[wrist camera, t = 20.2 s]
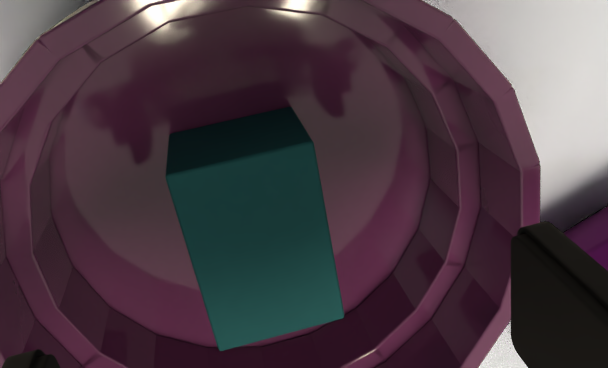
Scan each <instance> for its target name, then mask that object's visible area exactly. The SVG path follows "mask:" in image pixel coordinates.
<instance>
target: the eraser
mask: <svg viewBox="0 0 608 368" xmlns="http://www.w3.org/2000/svg"><path fill="white" fill-rule="evenodd" d="M165 178H166V182H167V185H168V188H169V191H170V195H171V198H172V201H173V204H174V208H175V211H176V214H177V217H178V221H179V224H180V227H181V230H182V233H183V237H184V240H185V243H186V246H187V250H188V253H189V256H190V259H191V263H192V266H193V269H194V272H195V276H196V279H197V282H198V285H199V289H200V292H201V295H202V298H203V302H204V305H205V308H206V311H207V314H208V318H209V321H210V324H211V327H212V331H213V334H214V337H215V340H216V344H217V347H218V349H219V350H220V351H224V350H228V349H231V348H235V347H239V346H242V345H246V344H250V343H254V342H257V341H261V340H265V339H269V338H272V337H276V336H280V335H283V334H287V333H291V332H295V331H298V330H302V329H306V328H310V327H313V326H317V325H321V324H325V323H328V322H332V321H336V320H339V319H343V318H344V309H343V303H342V298H341V292H340V287H339V281H338V275H337V270H336V264H335V259H334V253H333V247H332V242H331V236H330V231H329V225H328V220H327V214H326V208H325V203H324V197H323V192H322V186H321V180H320V175H319V169H318V164H317V158H316V152H315V147H314V143H313V141H312V139H311V138H310V136H309V134H308V133H307V131H306V129H305V128H304V126H303V125H302V123H301V121H300V120H299V118H298V116H297V115H296V113H295V112H294V110H293V108H292V107H285V108H281V109H277V110H272V111H268V112H264V113H259V114H255V115H250V116H246V117H242V118H237V119H233V120H228V121H224V122H220V123H215V124H211V125H206V126H202V127H198V128H193V129H189V130H184V131H180V132H176V133H171V134H170V135H169V140H168V152H167V164H166V176H165Z"/></svg>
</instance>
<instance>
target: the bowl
mask: <svg viewBox="0 0 608 368" xmlns="http://www.w3.org/2000/svg"><path fill="white" fill-rule="evenodd" d="M285 107H292V108H293V110H294V112H295V113H296V115H297V116H298V118H299V120H300V121H301V123H302V125H303V126H304V128H305V129H306V131H307V133H308V134H309V136H310V138H311V139H312V141H313V143H314V147H315V152H316V158H317V164H318V169H319V175H320V180H321V186H322V192H323V197H324V203H325V208H326V214H327V220H328V225H329V231H330V236H331V242H332V247H333V253H334V259H335V264H336V270H337V275H338V281H339V287H340V292H341V298H342V303H343V309H344V318H343V319H339V320H336V321H332V322H328V323H325V324H321V325H317V326H313V327H310V328H306V329H302V330H298V331H295V332H291V333H287V334H283V335H280V336H276V337H272V338H269V339H265V340H261V341H257V342H254V343H250V344H246V345H242V346H239V347H235V348H231V349H228V350H224V351H220V350H219V349H218V347H217V344H216V340H215V337H214V334H213V331H212V327H211V324H210V321H209V318H208V314H207V311H206V308H205V305H204V302H203V298H202V295H201V292H200V289H199V285H198V282H197V279H196V276H195V272H194V269H193V266H192V263H191V259H190V256H189V253H188V250H187V246H186V243H185V240H184V237H183V233H182V230H181V227H180V224H179V221H178V217H177V214H176V211H175V208H174V204H173V201H172V198H171V195H170V191H169V188H168V185H167V182H166V178H165V176H166V164H167V152H168V140H169V135H170V134H171V133H176V132H180V131H184V130H189V129H193V128H198V127H202V126H206V125H211V124H215V123H220V122H224V121H228V120H233V119H237V118H242V117H246V116H250V115H255V114H259V113H264V112H268V111H272V110H277V109H281V108H285ZM539 163H540V161H539V158H538V156H537V153H536V150H535V147H534V144H533V142H532V139H531V136H530V133H529V130H528V127H527V125H526V122H525V119H524V116H523V113H522V111H521V108H520V105H519V102H518V99H517V97H516V94H515V91H514V88H513V87H512V85H511V83H510V82H509V81H508V80H507V79H506V77H505V76H504V75H503V74H502V73H501V72H500V70H499V69H498V68H497V67H496V66H495V65H494V63H493V62H492V61H491V60H490V59H489V58H488V57H487V55H486V54H485V53H484V52H483V51H482V50H481V48H480V47H479V46H478V45H477V44H476V43H475V41H474V40H473V39H472V38H471V37H470V36H469V34H468V33H467V32H466V31H465V30H464V29H463V27H462V26H461V25H460V24H459V23H458V22H457V20H455V19H453V18H452V16H450V15H448V14H446V13H445V12H443V11H441V10H439V9H437V8H435V7H433V6H432V5H430V4H428V3H426V2H424V1H422V0H92V1H90V2H89V3H87V4H85V5H84V6H82V7H80V8H79V9H77V10H76V11H74V12H73V13H72V14H70V15H69V16H67V17H66V18H64V19H63V20H62V21H60V22H59V23H57V24H56V25H54V26H53V27H51V28H50V29H49V30H47V31H46V32H44V33H43V34H41V35H40V36H39V37H38V38H37V39H36V40H34V42H33V43H32V44H31V46H30V47H29V48H28V49H27V51H26V52H25V53H24V54H23V56H22V57H21V58H20V59H19V61H18V62H17V63H16V64H15V66H14V67H13V68H12V69H11V71H10V72H9V73H8V74H7V76H6V77H5V78H4V79H3V81H2V82H1V83H0V368H2V366H3V364H4V362H5V360H6V358H8V357H9V356H13V355H17V354H21V353H25V352H29V351H33V350H37V349H39V350H42V351H43V352H44V353H45V355H48V354H53V355H54V356H55V358H56V359H57V361H58V364H59V366H60V368H478V367H479V366H480V364H481V363H482V361H483V360H484V359H485V357H486V356H487V354H488V353H489V351H490V350H491V348H492V347H493V345H494V344H495V342H496V341H497V339H498V338H499V336H500V335H501V333H502V332H503V330H504V329H505V328H506V326H507V325H508V323H509V322H510V320H511V239H512V237H514V236H517V232H518V230H519V228H521V227H525V226H529V225H533V224H536V223H540V164H539Z"/></svg>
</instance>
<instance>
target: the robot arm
mask: <svg viewBox="0 0 608 368" xmlns="http://www.w3.org/2000/svg"><path fill="white" fill-rule="evenodd" d="M511 338H512V342H513V345H514V348H515V350H516V352H517V353H518V355H519V356H520V357H521V359H522V360H523V361H524V363H525V364H526V365H527V367H528V368H608V271H607V270H606V269H605V268H604V267H603V266H601V265H600V264H599V263H598V262H597V261H595V260H594V259H593V258H592V257H591V256H590V255H588V254H587V253H586V252H585V251H584V250H582V249H581V248H580V247H579V246H578V245H577V244H575V243H574V242H573V241H572V240H571V239H569V238H568V237H567V236H566V235H565V234H564V233H562V232H561V231H560V230H559V229H558V228H556V227H555V226H554V225H553V224H552V223H550V222H547V221H544V222H540V223H536V224H533V225H529V226H525V227H521V228H519V230H518V232H517V236H514V237H512V239H511ZM2 368H60V366H59V364H58V361H57V359H56V358H55V356H54V355H53V354H48V355H45V353H44V352H43V351H42V350H39V349H37V350H33V351H29V352H25V353H21V354H17V355H13V356H9V357H8V358H6V360H5V362H4V364H3V366H2Z"/></svg>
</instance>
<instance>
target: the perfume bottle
mask: <svg viewBox="0 0 608 368" xmlns="http://www.w3.org/2000/svg"><path fill="white" fill-rule="evenodd" d="M564 234H565V235H566V236H567V237H568V238H569V239H571V240H572V241H573V242H574V243H575V244H577V245H578V246H579V247H580V248H581V249H582V250H584V251H585V252H586V253H587V254H588V255H590V256H591V257H592V258H593V259H594V260H595V261H597V262H598V263H599V264H600V265H601V266H603V267H604V268H605V269H606V270H607V271H608V206H607V207H605V208H603V209H602V210H600V211H598V212H597V213H595V214H593V215H592V216H590V217H588V218H587V219H585V220H584V221H582V222H580V223H579V224H577V225H575V226H574V227H572V228H570V229H569V230H567V231H565V232H564Z"/></svg>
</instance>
